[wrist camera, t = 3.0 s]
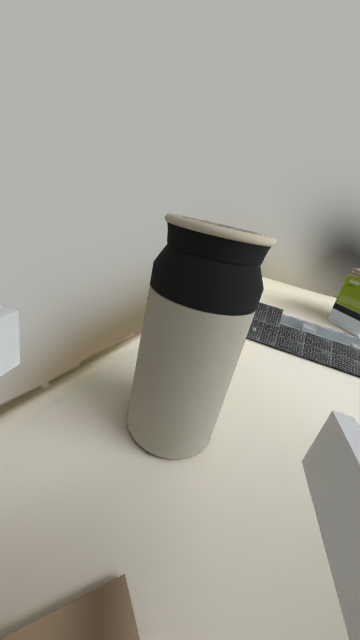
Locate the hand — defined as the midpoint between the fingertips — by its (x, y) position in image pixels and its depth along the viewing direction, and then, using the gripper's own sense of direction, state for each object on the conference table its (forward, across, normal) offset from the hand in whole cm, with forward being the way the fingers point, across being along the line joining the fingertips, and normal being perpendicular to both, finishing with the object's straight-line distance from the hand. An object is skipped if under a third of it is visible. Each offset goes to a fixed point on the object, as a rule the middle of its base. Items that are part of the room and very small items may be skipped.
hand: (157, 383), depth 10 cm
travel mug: (+10, 0, -12) cm, 15 cm away
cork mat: (-14, 0, -12) cm, 18 cm away
